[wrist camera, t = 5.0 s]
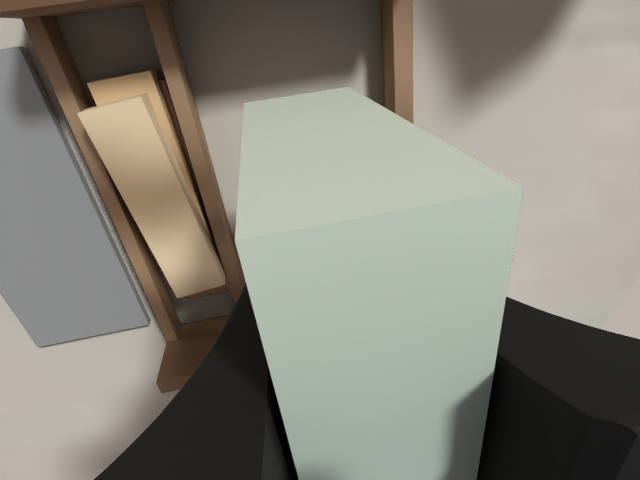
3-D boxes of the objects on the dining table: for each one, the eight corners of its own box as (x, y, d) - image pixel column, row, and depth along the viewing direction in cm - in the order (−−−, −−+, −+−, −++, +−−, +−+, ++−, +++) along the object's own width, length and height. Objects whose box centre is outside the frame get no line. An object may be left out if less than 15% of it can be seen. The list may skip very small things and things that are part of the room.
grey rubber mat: (150, 320, 22) (148, 324, 21) (41, 342, 21) (37, 347, 21) (24, 46, 15) (18, 46, 14) (-144, 70, 14) (-154, 71, 14)
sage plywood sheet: (366, 322, 15) (462, 563, 8) (293, 338, 15) (330, 598, 8) (348, 86, 11) (523, 188, 4) (243, 102, 11) (234, 241, 4)
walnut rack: (404, 290, 24) (430, 334, 20) (175, 337, 22) (161, 393, 19) (398, -55, 15) (442, -80, 12) (27, -6, 14) (-47, -18, 10)
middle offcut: (225, 268, 20) (225, 278, 20) (181, 278, 20) (178, 289, 19) (155, 68, 15) (149, 70, 15) (95, 80, 15) (86, 83, 14)
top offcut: (225, 273, 19) (224, 284, 19) (180, 286, 19) (177, 298, 18) (146, 92, 15) (140, 96, 14) (86, 108, 15) (76, 113, 14)
